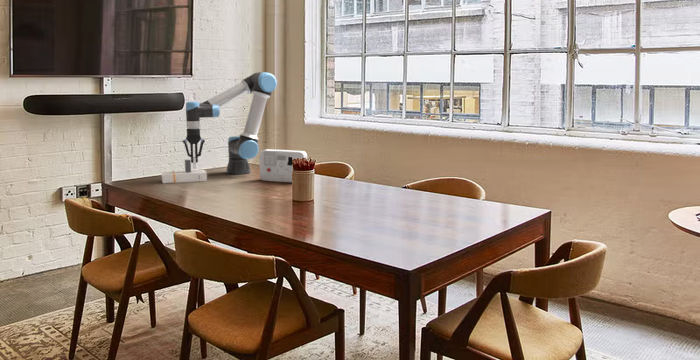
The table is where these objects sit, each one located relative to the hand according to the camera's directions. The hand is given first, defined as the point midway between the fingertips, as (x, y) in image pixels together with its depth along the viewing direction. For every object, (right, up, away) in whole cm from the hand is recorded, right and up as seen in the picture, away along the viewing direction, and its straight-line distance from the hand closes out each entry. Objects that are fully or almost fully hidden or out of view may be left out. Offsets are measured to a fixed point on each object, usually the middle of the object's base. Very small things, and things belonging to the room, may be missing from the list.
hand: (194, 168), depth 392 cm
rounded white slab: (+53, -8, -2) cm, 53 cm away
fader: (-4, -7, 0) cm, 8 cm away
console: (-6, -7, -1) cm, 9 cm away
